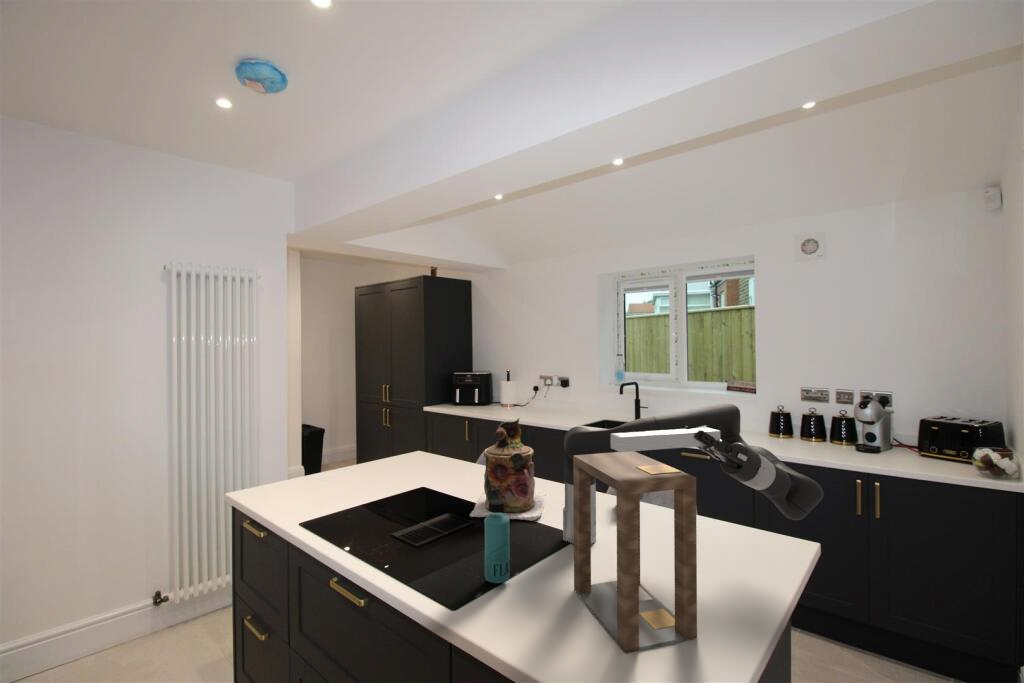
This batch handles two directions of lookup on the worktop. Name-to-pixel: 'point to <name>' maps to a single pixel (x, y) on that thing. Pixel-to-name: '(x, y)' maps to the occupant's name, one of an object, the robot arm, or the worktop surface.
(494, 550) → the beverage bottle
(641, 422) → the robot arm
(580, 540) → the switch shelf
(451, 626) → the worktop surface
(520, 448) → the cookie jar
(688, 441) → the gray rectangular block
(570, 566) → the worktop surface
